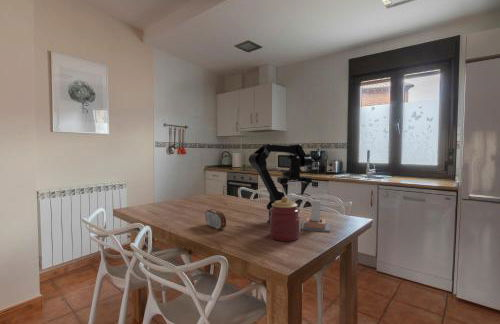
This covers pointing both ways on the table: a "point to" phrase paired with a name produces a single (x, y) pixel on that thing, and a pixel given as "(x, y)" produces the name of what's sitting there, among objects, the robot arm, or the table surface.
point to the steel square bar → (315, 211)
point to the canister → (284, 220)
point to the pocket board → (315, 225)
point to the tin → (215, 219)
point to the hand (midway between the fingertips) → (294, 195)
